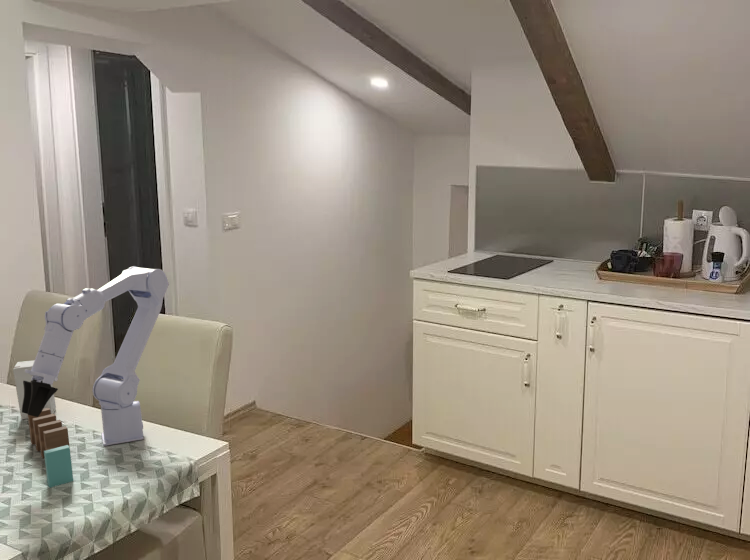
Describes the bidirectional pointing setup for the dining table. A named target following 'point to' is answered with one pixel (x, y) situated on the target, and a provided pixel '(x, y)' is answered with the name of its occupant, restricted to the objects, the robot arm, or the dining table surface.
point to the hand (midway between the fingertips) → (29, 414)
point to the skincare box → (19, 378)
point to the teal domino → (58, 466)
